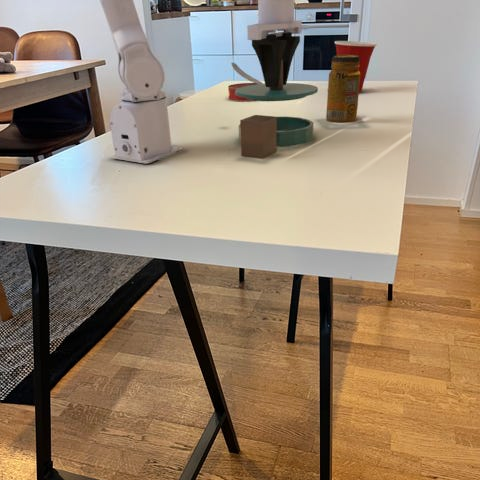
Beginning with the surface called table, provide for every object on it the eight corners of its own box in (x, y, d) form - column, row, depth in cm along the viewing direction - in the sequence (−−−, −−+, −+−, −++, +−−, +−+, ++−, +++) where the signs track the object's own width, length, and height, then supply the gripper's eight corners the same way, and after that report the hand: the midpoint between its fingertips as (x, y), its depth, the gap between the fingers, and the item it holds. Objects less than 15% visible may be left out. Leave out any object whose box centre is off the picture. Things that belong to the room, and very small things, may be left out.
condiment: (354, 118, 101) (359, 53, 94) (364, 127, 94) (371, 57, 87) (319, 120, 101) (322, 55, 94) (326, 128, 94) (331, 59, 87)
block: (262, 162, 76) (262, 122, 72) (241, 159, 77) (240, 120, 74) (276, 155, 79) (276, 116, 75) (255, 152, 81) (255, 114, 77)
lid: (293, 105, 75) (294, 65, 72) (219, 100, 81) (217, 63, 78) (330, 91, 85) (333, 55, 82) (261, 88, 91) (261, 54, 88)
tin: (291, 153, 79) (291, 135, 78) (225, 145, 86) (224, 128, 84) (324, 136, 88) (325, 119, 87) (263, 130, 95) (263, 114, 93)
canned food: (242, 113, 134) (251, 75, 132) (269, 112, 127) (278, 73, 126) (214, 97, 126) (222, 57, 124) (241, 96, 119) (250, 54, 118)
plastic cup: (376, 94, 125) (381, 41, 118) (334, 95, 125) (337, 43, 118) (367, 88, 134) (372, 38, 127) (328, 89, 134) (331, 40, 128)
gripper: (276, -12, 68) (275, 93, 75) (319, -12, 78) (315, 80, 85) (234, -10, 71) (238, 91, 79) (281, -10, 81) (280, 79, 89)
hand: (275, 85), depth 82 cm, fingers closed on lid, 2 cm apart
